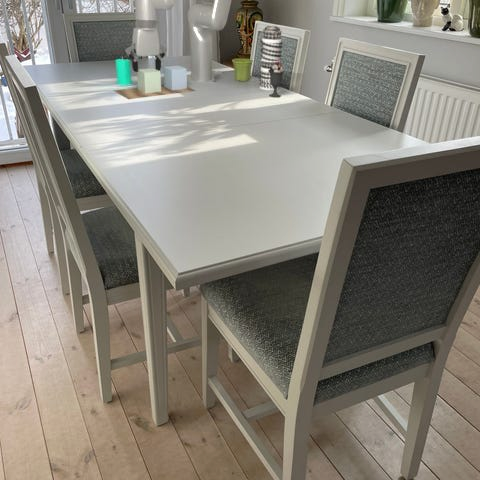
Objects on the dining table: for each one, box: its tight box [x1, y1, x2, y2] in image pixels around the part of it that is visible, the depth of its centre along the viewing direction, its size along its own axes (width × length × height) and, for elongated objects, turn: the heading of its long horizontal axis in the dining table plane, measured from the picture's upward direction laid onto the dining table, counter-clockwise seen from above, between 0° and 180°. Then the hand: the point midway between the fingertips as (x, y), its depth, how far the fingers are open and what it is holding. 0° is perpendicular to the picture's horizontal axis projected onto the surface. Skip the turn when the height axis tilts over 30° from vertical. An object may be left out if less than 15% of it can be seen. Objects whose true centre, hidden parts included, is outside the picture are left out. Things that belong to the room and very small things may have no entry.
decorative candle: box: [258, 25, 283, 91], centre depth 218 cm, size 9×9×25 cm
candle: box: [115, 56, 132, 86], centre depth 216 cm, size 6×6×12 cm
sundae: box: [268, 57, 285, 98], centre depth 209 cm, size 7×7×15 cm
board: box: [113, 84, 197, 100], centre depth 210 cm, size 30×15×2 cm, turn 124°
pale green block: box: [136, 67, 162, 93], centre depth 207 cm, size 7×7×8 cm
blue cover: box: [163, 65, 188, 90], centre depth 213 cm, size 7×7×8 cm
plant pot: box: [231, 58, 254, 82], centre depth 234 cm, size 9×9×9 cm
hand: (147, 70), depth 205 cm, fingers open, 9 cm apart
